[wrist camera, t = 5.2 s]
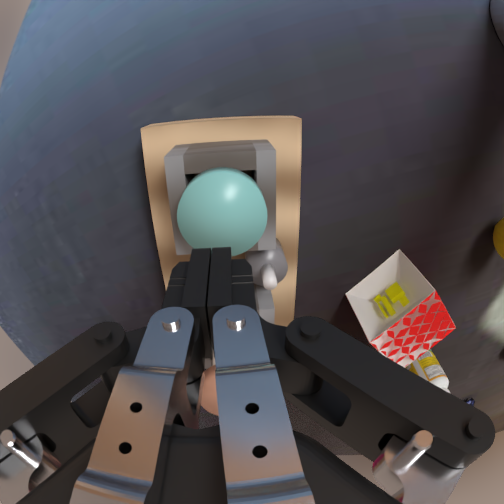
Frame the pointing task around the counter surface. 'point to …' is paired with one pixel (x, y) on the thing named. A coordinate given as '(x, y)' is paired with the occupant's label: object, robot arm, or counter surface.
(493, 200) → the counter surface
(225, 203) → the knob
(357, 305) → the red patterned cube box
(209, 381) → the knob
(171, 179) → the mount
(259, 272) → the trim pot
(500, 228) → the lemon
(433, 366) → the supplement bottle
